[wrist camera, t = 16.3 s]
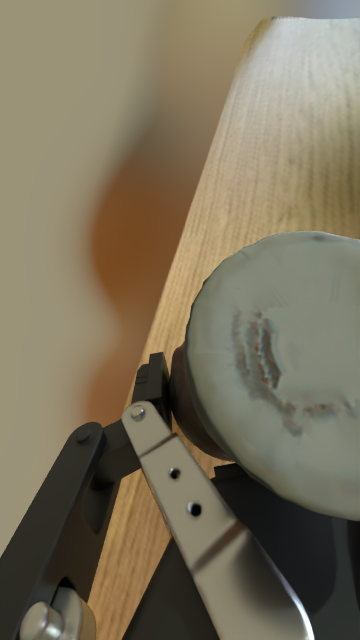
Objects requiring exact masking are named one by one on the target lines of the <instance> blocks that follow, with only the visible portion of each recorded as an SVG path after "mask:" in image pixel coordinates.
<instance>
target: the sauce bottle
mask: <svg viewBox="0 0 360 640" xmlns="http://www.w3.org/2000/svg"><path fill="white" fill-rule="evenodd" d="M169 401H170V406H171V410H172V413H173V415H174V418H175V420H176V422H177V424H178V426H179V428H180V429H181V430H182V432H183V433H184V434H185V436H186V437H187V438H188V439H189V440H190V441H191V442H192V443H193V444H194V445H195V446H196V447H198V448H199V449H200V450H202V451H203V452H205V453H206V454H208V455H210V456H213V457H215V458H218V459H221V460H225V461H232V462H235V463H237V464H238V465H240V466H241V467H242V468H243V469H244V471H245V472H246V473H247V474H248V475H249V476H250V477H251V478H253V479H254V480H256V481H257V482H259V483H260V484H262V485H263V486H265V487H266V488H268V489H269V490H271V491H272V492H274V493H275V494H276V495H278V496H279V497H281V498H282V499H284V500H286V501H288V502H290V503H293V504H295V505H297V506H300V507H302V508H304V509H307V510H309V511H311V512H314V513H318V514H322V515H326V516H330V517H338V518H344V519H348V520H352V521H356V522H358V521H360V240H357V239H352V238H348V237H344V236H339V235H334V234H330V233H326V232H322V231H297V232H286V233H281V234H276V235H272V236H268V237H266V238H264V239H262V240H260V241H258V242H257V243H255V244H253V245H250V246H247V247H244V248H242V249H241V250H239V251H238V252H236V253H235V254H233V255H232V256H230V257H228V258H226V259H225V260H223V261H222V263H221V264H220V265H219V266H218V267H217V268H216V269H215V270H214V271H213V272H212V274H211V275H210V276H209V277H208V278H207V279H206V280H205V281H204V282H203V286H202V289H201V290H200V292H199V293H198V295H197V297H196V298H195V300H194V302H193V304H192V306H191V313H190V318H189V321H188V324H187V326H186V334H185V341H184V343H183V344H182V345H181V346H180V347H178V348H177V349H176V350H175V351H174V353H173V357H172V365H171V374H170V382H169Z"/></svg>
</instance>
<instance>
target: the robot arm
mask: <svg viewBox="0 0 360 640" xmlns="http://www.w3.org/2000/svg"><path fill="white" fill-rule="evenodd" d="M169 382H170V377H169V372H168V368H167V364H166V360H165V356H164V353H163V352H159V353H154V354H150V358H149V364H144V365H142V366H141V367H140V368H139V370H138V371H137V376H136V381H135V387H134V392H133V397H132V403H131V405H130V406H128V407H127V408H126V409H125V411H124V412H123V414H122V418H121V419H120V420H119V421H117V422H115V423H113V424H110V425H108V426H106V427H104V428H102V426H101V425H100V424H99V423H97V422H89V423H86V424H84V425H82V426H80V427H79V428H77V429H76V430H75V431H74V432H73V433H72V434H71V435H70V436H69V438H68V440H67V441H66V443H65V445H64V447H63V449H62V450H61V452H60V454H59V456H58V457H57V459H56V461H55V463H54V464H53V466H52V468H51V470H50V471H49V473H48V475H47V477H46V478H45V480H44V482H43V484H42V486H41V487H40V489H39V491H38V493H37V494H36V496H35V498H34V500H33V501H32V503H31V505H30V507H29V508H28V510H27V512H26V514H25V515H24V517H23V519H22V521H21V523H20V524H19V526H18V528H17V530H16V531H15V533H14V535H13V537H12V538H11V540H10V542H9V544H8V545H7V548H6V549H5V551H4V553H3V554H2V556H1V558H0V640H96V631H97V629H96V620H95V616H94V613H93V611H92V610H91V608H90V607H89V606H88V605H87V603H88V599H89V595H90V592H91V588H92V584H93V581H94V577H95V574H96V570H97V566H98V563H99V559H100V555H101V552H102V548H103V545H104V541H105V537H106V534H107V530H108V526H109V523H110V519H111V516H112V512H113V508H114V505H115V501H116V497H117V494H118V490H119V487H120V483H121V479H122V478H123V477H125V476H127V475H129V474H131V473H133V472H135V471H136V470H138V469H140V468H141V470H142V472H143V474H144V476H145V479H146V481H147V483H148V486H149V488H150V490H151V493H152V495H153V497H154V499H155V502H156V504H157V506H158V509H159V511H160V514H161V516H162V518H163V521H164V523H165V526H166V528H167V530H168V533H169V535H170V537H171V539H170V541H169V543H168V545H167V547H166V549H165V552H164V554H163V556H162V558H161V560H160V562H159V564H158V566H157V568H156V570H155V572H154V574H153V576H152V578H151V580H150V582H149V584H148V586H147V589H146V591H145V593H144V595H143V597H142V599H141V601H140V603H139V605H138V607H137V609H136V611H135V613H134V615H133V617H132V619H131V621H130V624H129V626H128V628H127V630H126V632H125V634H124V636H123V638H122V640H360V521H358V522H356V521H352V520H348V519H344V518H338V517H330V516H326V515H322V514H318V513H314V512H311V511H309V510H307V509H304V508H302V507H300V506H297V505H295V504H293V503H290V502H288V501H286V500H284V499H282V498H281V497H279V496H278V495H276V494H275V493H274V492H272V491H271V490H269V489H268V488H266V487H265V486H263V485H262V484H260V483H259V482H257V481H256V480H254V479H253V478H251V477H250V476H249V475H248V474H247V473H246V472H245V471H244V469H243V468H242V467H241V466H240V465H238V464H237V463H233V464H227V465H222V466H216V467H214V471H215V477H214V478H212V479H209V478H208V476H207V475H206V473H205V472H204V470H203V469H202V468H201V466H200V465H199V463H198V462H197V461H196V459H195V458H194V456H193V455H192V454H191V452H190V451H189V449H188V448H187V447H186V445H185V444H184V442H183V441H182V439H181V438H180V437H179V435H178V434H177V433H174V434H173V433H172V411H171V406H170V401H169Z"/></svg>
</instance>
